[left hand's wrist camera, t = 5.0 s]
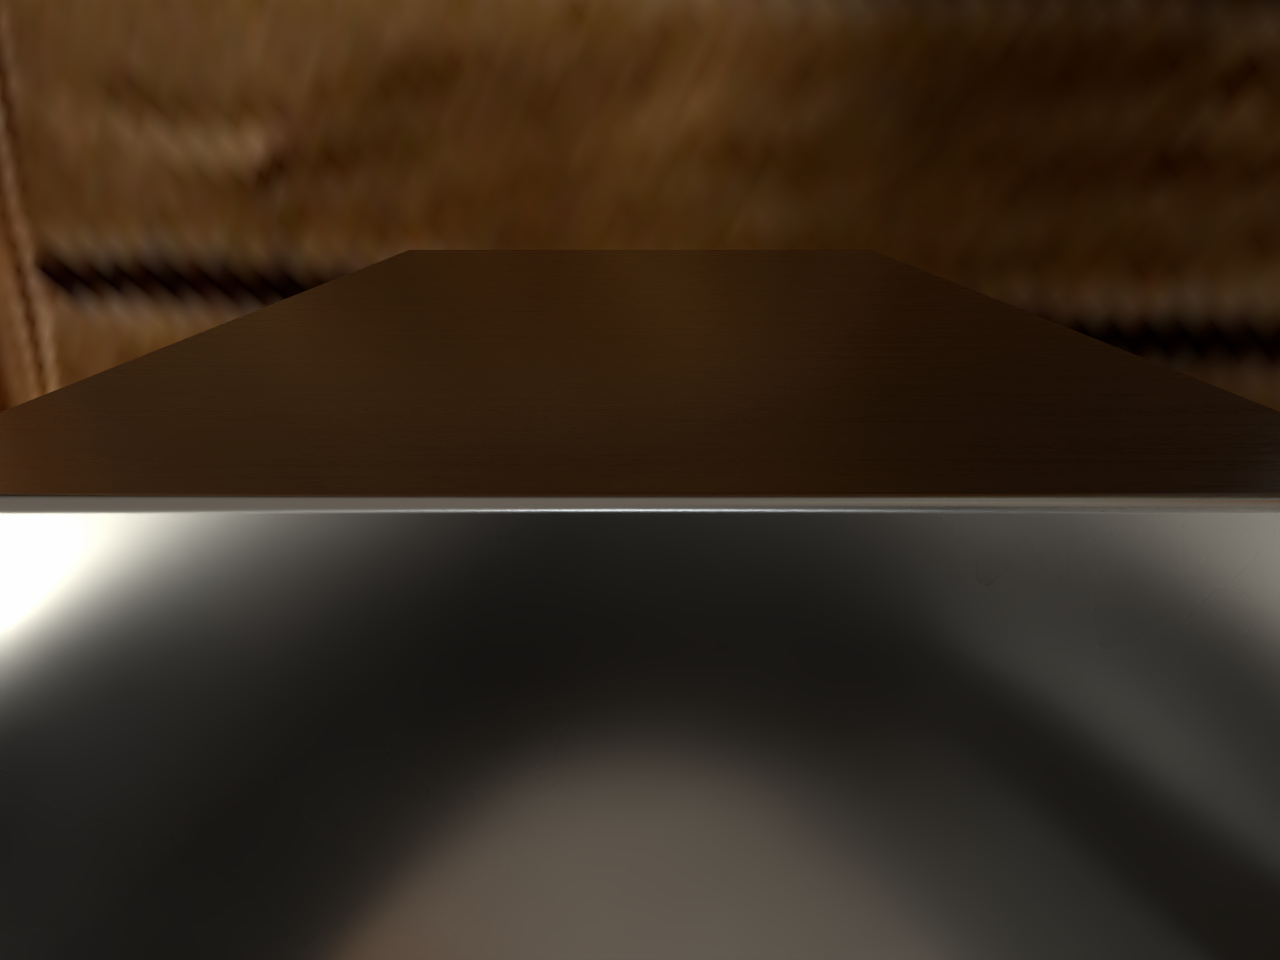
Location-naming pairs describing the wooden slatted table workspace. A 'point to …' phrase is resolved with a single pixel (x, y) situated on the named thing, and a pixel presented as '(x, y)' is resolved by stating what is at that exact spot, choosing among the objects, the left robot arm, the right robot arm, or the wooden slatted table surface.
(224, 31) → the wooden slatted table surface
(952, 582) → the box
